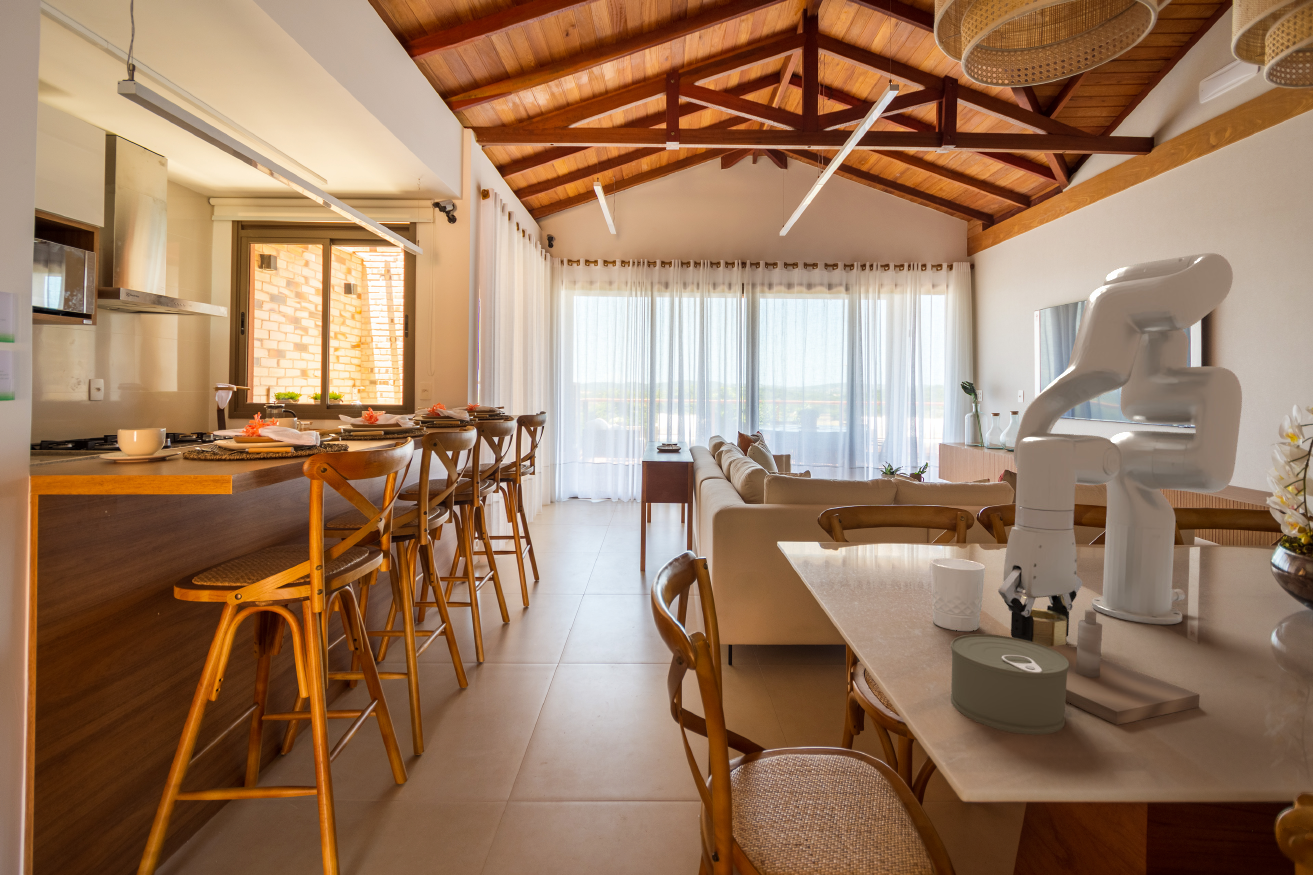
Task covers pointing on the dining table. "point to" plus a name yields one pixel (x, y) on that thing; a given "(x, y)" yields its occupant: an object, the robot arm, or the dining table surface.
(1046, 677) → the can
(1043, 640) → the ring
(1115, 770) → the dining table surface
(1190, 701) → the post block
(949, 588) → the white cup
